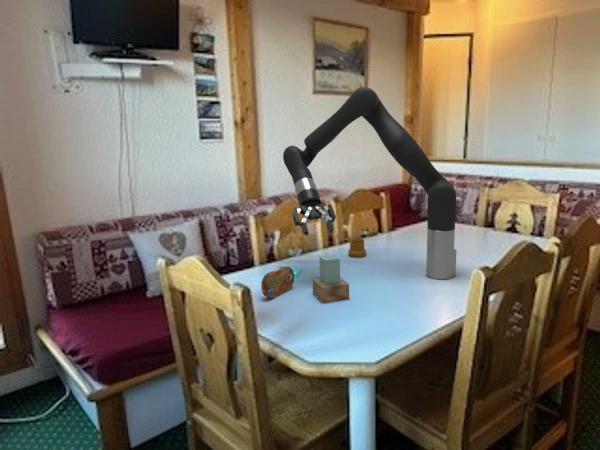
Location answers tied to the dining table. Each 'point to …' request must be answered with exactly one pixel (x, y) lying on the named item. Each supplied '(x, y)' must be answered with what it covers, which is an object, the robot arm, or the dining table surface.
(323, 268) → the teal block
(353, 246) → the ornamental finial
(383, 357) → the dining table surface
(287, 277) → the tin
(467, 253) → the dining table surface
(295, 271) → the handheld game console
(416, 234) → the dining table surface
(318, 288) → the walnut plinth
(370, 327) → the dining table surface
